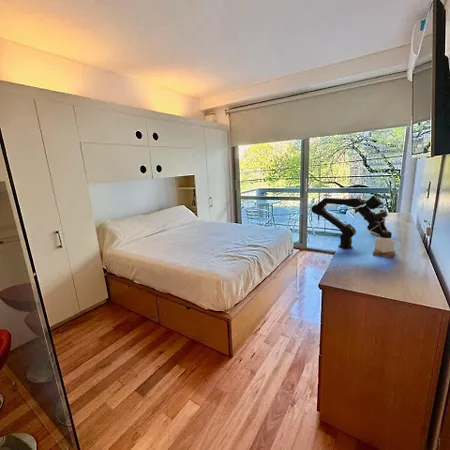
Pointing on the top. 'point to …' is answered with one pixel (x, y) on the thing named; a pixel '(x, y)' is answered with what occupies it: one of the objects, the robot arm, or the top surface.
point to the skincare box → (374, 232)
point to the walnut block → (384, 254)
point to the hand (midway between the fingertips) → (386, 234)
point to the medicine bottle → (384, 243)
